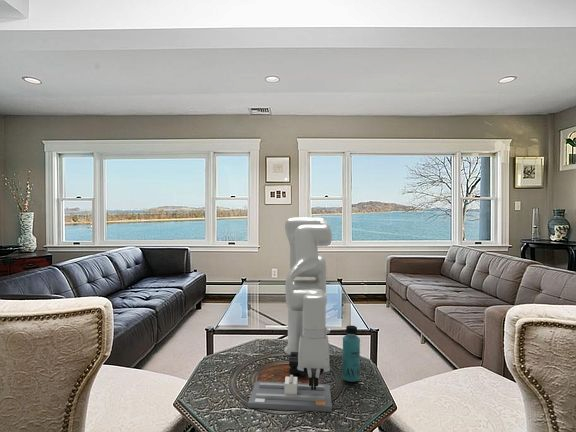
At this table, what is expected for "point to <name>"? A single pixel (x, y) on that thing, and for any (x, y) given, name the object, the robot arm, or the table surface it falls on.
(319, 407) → the breaker panel
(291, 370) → the end cap
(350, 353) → the beverage bottle
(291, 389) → the knob
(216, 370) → the table surface
